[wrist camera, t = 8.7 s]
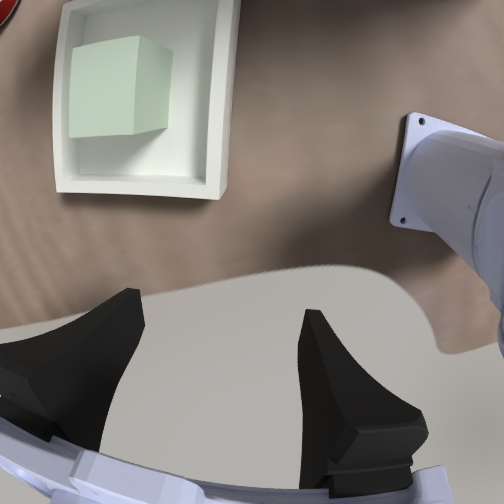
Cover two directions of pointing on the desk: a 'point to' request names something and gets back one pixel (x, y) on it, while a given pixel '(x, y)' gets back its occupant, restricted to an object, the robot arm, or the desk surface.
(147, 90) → the sage block
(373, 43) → the desk surface
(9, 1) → the soda can
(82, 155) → the desk bin
